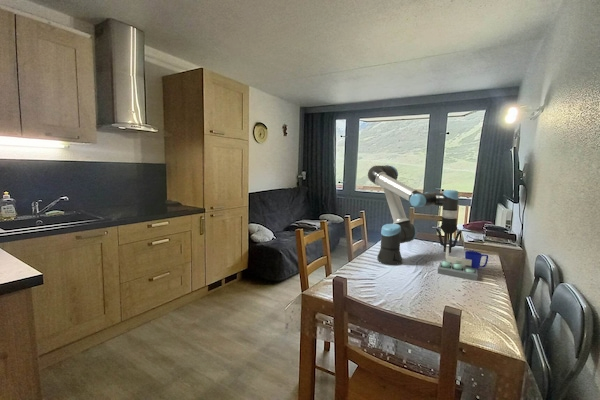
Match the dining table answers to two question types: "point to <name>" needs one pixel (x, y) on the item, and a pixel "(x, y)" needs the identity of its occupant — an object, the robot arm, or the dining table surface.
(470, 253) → the mug
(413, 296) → the dining table surface
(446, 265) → the button left
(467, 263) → the pattern card
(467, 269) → the button right
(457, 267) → the button middle
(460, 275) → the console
